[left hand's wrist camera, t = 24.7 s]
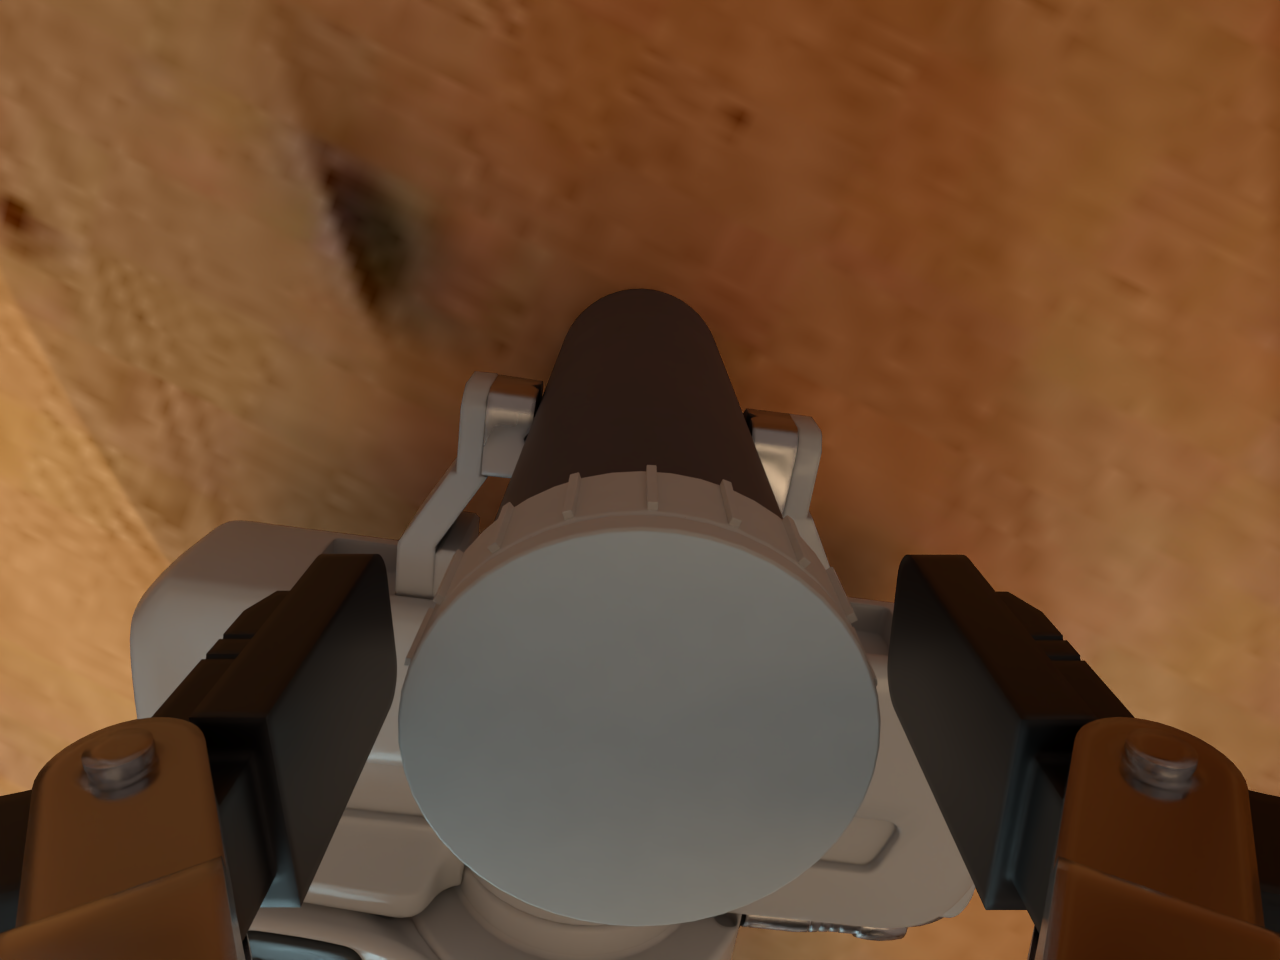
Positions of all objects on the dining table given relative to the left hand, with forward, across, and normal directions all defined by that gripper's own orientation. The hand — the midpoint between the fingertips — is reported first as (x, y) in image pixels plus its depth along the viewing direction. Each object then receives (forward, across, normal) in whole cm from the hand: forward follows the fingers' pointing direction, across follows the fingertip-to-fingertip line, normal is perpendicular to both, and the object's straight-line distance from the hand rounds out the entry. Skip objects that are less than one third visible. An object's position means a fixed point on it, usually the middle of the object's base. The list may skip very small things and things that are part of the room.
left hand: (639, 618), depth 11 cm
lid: (-2, 0, 0) cm, 2 cm away
